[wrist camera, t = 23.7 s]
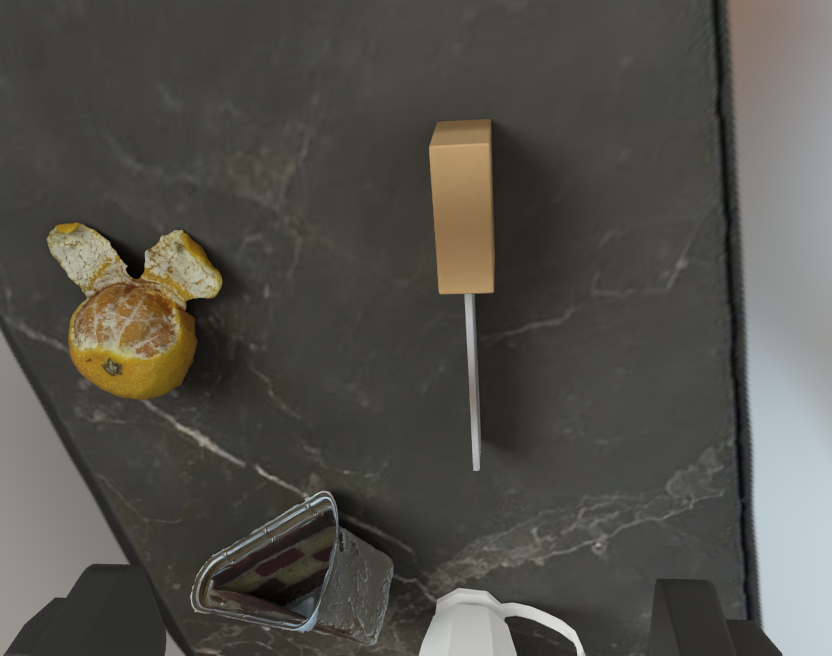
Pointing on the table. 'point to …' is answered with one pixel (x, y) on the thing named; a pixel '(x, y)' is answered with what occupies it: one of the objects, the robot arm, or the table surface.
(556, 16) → the table surface
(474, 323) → the knife
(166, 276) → the fruit
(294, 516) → the chocolate cake
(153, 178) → the table surface
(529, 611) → the cup
